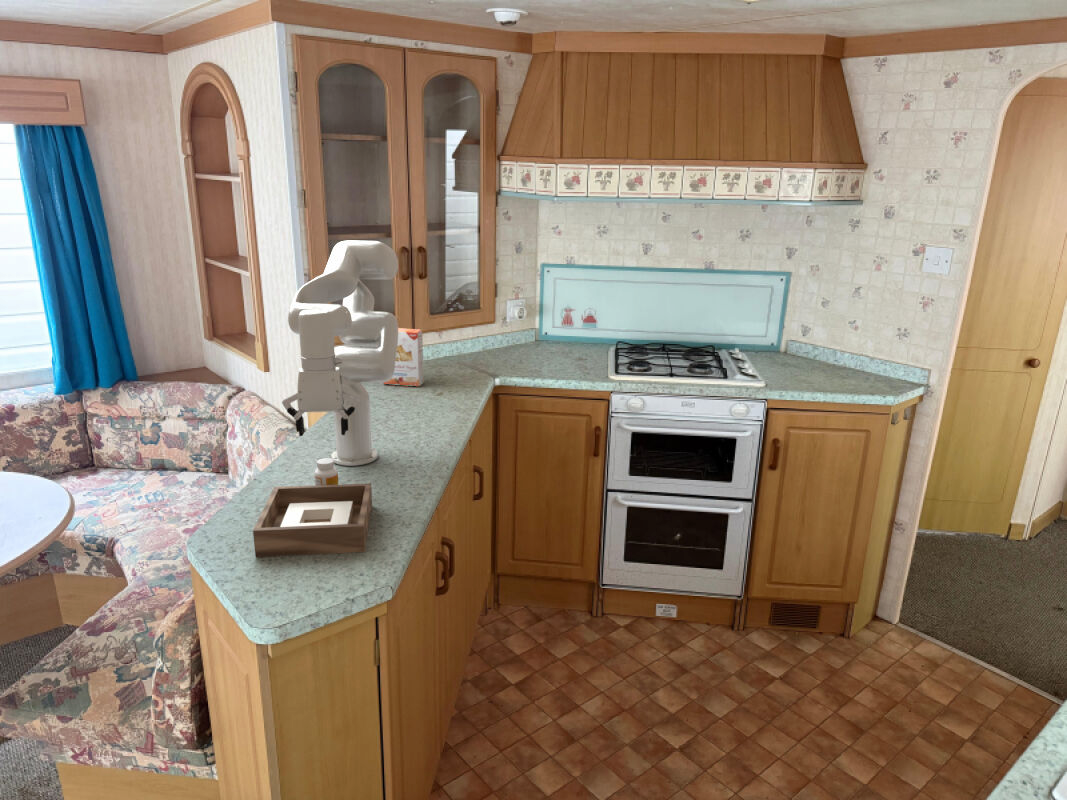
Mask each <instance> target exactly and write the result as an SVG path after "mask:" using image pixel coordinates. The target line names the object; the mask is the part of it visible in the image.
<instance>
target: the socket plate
mask: <svg viewBox="0 0 1067 800" xmlns="http://www.w3.org/2000/svg"><path fill="white" fill-rule="evenodd" d="M352 514H353V501H341V502H315V503H290V504H289V507H288V509H287V512H286V514H285V516H284V519H283V521H282V524H281V526H280V527H292V526H315V525H339V524H350V523H351V519H352ZM316 519H331V522H315V523H304V521H305V520H316Z"/></svg>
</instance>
